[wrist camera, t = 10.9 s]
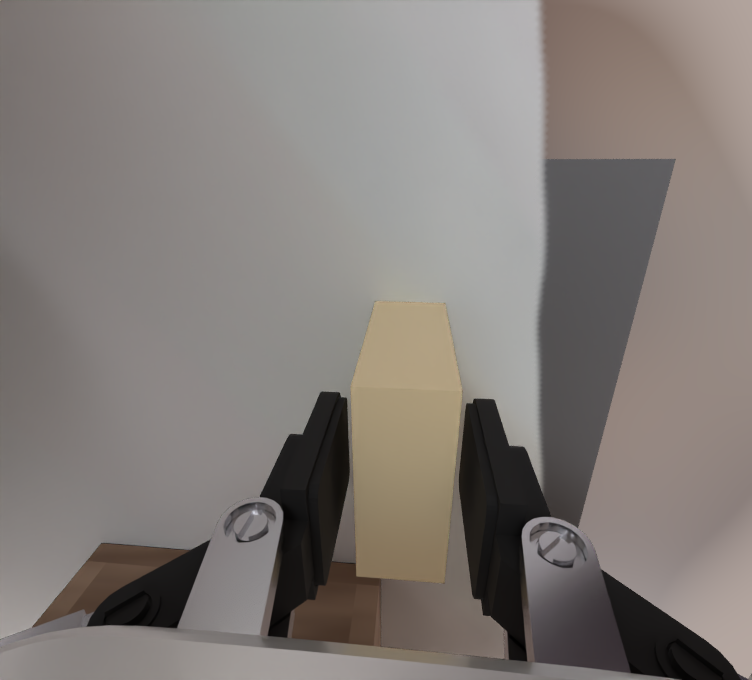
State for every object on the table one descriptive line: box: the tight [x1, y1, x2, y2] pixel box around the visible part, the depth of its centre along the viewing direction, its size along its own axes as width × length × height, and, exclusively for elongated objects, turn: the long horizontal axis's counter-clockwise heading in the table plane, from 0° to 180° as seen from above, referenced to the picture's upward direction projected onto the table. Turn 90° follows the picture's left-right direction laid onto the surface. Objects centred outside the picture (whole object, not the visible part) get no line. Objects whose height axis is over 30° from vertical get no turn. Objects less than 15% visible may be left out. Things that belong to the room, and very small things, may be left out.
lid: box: [350, 159, 676, 584], centre depth 13 cm, size 15×15×7 cm
